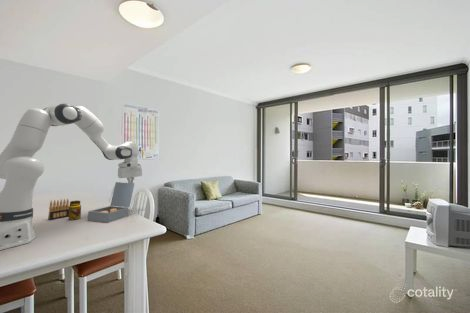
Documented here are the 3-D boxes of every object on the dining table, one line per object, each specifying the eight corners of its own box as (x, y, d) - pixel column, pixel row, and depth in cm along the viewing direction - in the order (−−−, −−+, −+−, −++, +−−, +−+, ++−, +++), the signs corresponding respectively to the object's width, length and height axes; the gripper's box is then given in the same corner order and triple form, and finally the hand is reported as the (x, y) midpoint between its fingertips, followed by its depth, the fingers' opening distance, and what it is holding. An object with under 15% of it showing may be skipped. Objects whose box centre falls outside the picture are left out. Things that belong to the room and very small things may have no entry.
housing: (108, 224, 126) (108, 213, 126) (87, 222, 130) (88, 211, 130) (128, 217, 142) (128, 207, 142) (109, 215, 145) (109, 206, 146)
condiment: (77, 222, 130) (77, 202, 130) (61, 222, 129) (62, 202, 129) (83, 218, 137) (84, 200, 137) (69, 219, 136) (70, 200, 136)
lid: (133, 183, 146) (135, 183, 148) (115, 182, 150) (117, 182, 152) (128, 207, 142) (130, 207, 143) (110, 205, 146) (112, 205, 147)
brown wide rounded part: (103, 220, 130) (104, 212, 130) (98, 220, 131) (98, 211, 131) (109, 219, 134) (109, 210, 134) (104, 218, 135) (104, 210, 135)
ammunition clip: (49, 220, 132) (50, 200, 132) (48, 220, 133) (48, 200, 133) (69, 216, 142) (70, 198, 142) (68, 216, 142) (68, 198, 143)
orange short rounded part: (113, 217, 137) (113, 209, 137) (108, 217, 138) (108, 209, 138) (118, 216, 141) (118, 208, 141) (113, 215, 142) (113, 208, 142)
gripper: (137, 163, 165) (137, 181, 164) (116, 164, 145) (115, 184, 145) (144, 164, 163) (144, 182, 163) (123, 164, 143) (123, 185, 143)
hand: (130, 183), depth 154 cm, fingers closed
